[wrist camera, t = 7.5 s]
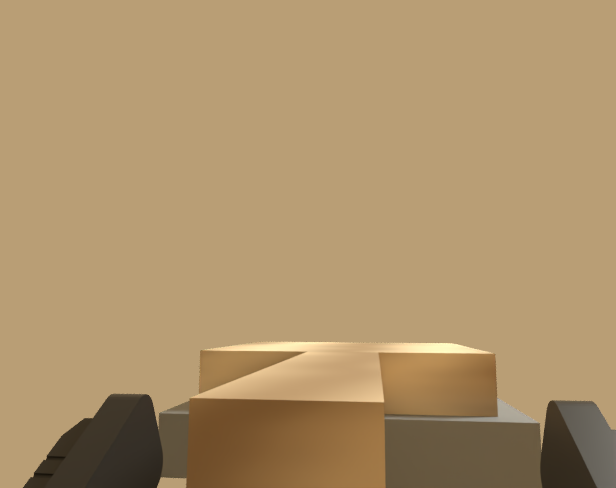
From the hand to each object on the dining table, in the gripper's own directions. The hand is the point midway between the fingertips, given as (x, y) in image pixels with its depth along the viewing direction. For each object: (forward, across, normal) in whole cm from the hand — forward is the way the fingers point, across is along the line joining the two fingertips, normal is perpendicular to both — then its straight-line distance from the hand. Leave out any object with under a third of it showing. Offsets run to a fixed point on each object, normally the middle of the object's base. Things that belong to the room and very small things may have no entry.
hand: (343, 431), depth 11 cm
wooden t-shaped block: (+5, 0, -4) cm, 6 cm away
